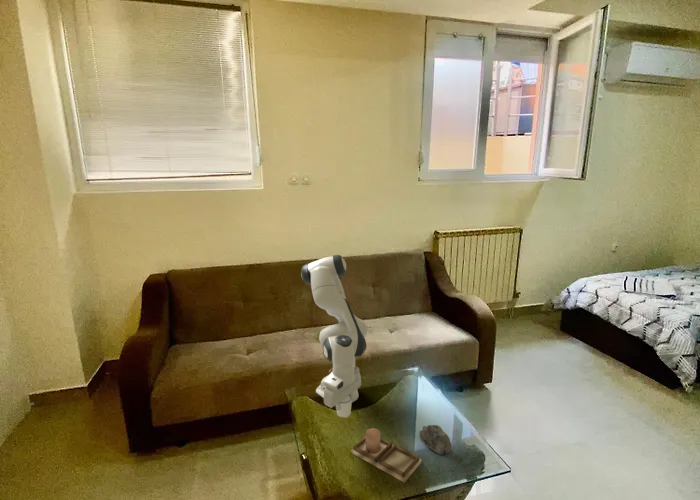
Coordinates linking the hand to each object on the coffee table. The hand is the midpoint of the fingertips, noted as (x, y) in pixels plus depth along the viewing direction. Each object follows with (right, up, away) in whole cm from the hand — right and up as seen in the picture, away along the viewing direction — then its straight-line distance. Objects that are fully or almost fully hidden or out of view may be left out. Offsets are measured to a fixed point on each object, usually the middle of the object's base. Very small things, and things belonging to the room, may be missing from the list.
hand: (343, 405), depth 162 cm
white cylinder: (0, -4, +1) cm, 4 cm away
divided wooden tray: (+17, -18, -6) cm, 26 cm away
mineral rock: (+38, -17, 0) cm, 41 cm away
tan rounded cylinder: (+12, -16, -3) cm, 20 cm away
